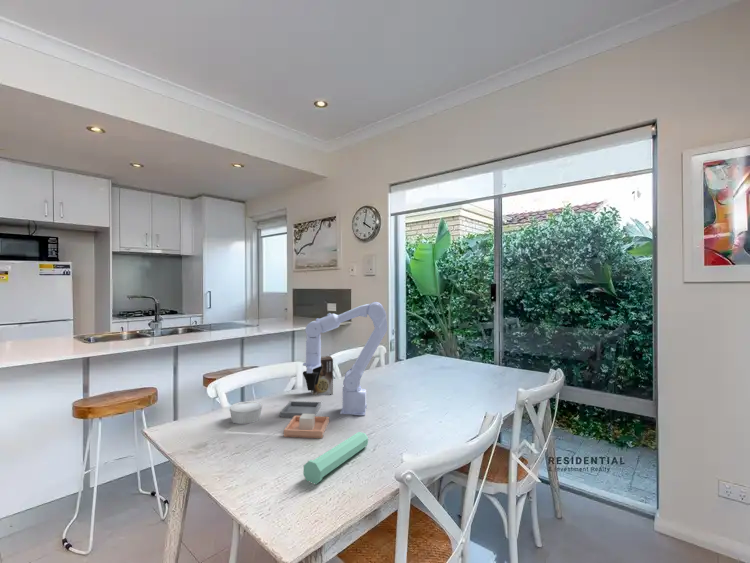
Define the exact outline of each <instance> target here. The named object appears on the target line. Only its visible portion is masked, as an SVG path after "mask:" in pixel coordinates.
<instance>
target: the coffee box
mask: <svg viewBox="0 0 750 563" xmlns="http://www.w3.org/2000/svg"><path fill="white" fill-rule="evenodd" d="M321 365H322V366H323V367H322V369H321V372H320V375H319V380H318V384H317V385H315V387H314V390H313V391H311V390H310V393H311V395H312V396H317V395H318V396H329V395H330V394H331V395H334V389H333V388H334V382H333V381H334V358H332V356H330V355H329V356H328V355H324V356H321Z"/></svg>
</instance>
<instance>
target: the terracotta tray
mask: <svg viewBox="0 0 750 563" xmlns="http://www.w3.org/2000/svg"><path fill="white" fill-rule="evenodd" d="M300 417H301V416H294V417H291V420H290V421H289V423H288V424H287V425H286V426H285V428H284V429H283V437H285V438H303V439H304V438H305V439H306V438H307V439H323V437H324V433H325V431H326V429H327V427H328V425H329V423H330V416H318V415H316V416H315V426H314V428H313V430H299V418H300Z"/></svg>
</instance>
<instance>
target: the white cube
mask: <svg viewBox="0 0 750 563" xmlns="http://www.w3.org/2000/svg"><path fill="white" fill-rule="evenodd" d="M314 426H315V414H302V415H301V417H300V418H299V430H313V428H314Z"/></svg>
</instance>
